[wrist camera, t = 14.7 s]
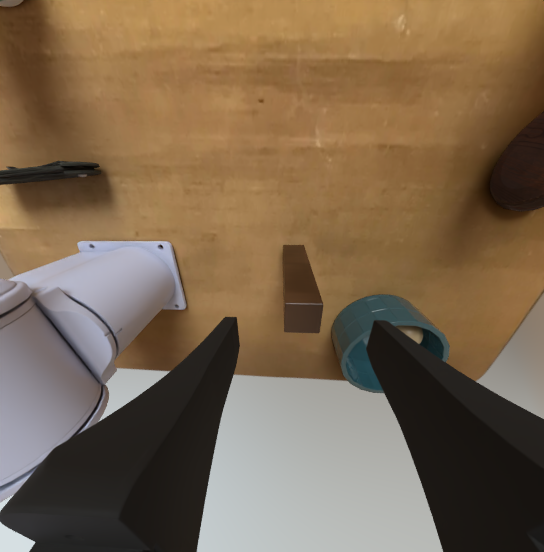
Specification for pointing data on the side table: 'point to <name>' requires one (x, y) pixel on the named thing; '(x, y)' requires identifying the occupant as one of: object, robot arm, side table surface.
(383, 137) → the side table surface
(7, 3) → the supplement bottle
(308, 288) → the stirring stick
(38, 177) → the folding knife
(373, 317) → the bowl
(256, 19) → the side table surface
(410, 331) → the bead
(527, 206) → the compass
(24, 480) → the robot arm
